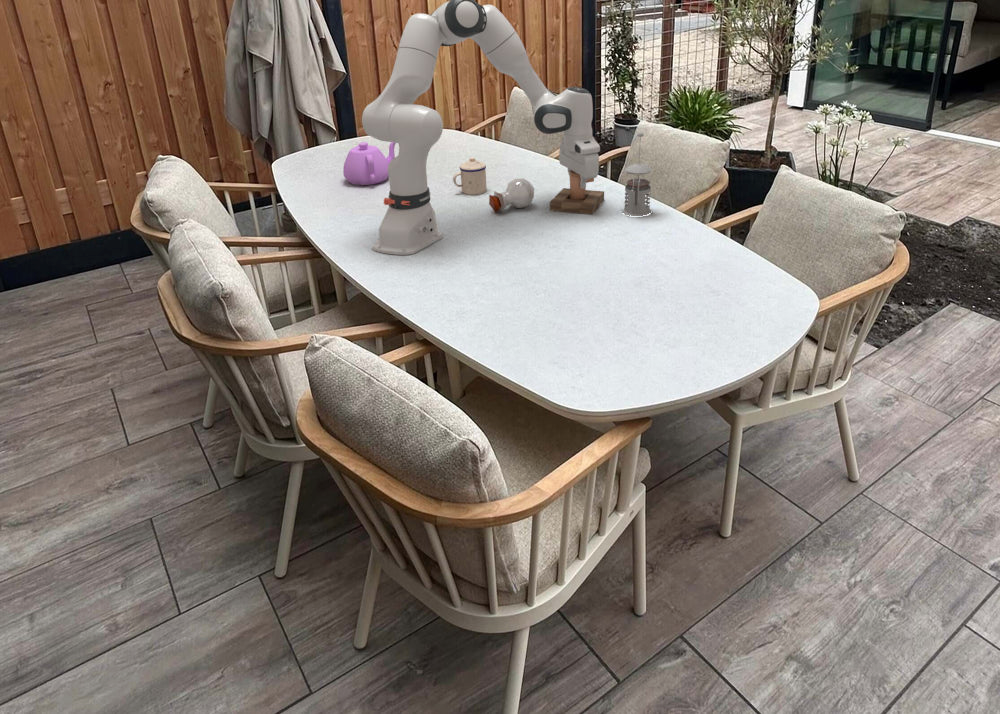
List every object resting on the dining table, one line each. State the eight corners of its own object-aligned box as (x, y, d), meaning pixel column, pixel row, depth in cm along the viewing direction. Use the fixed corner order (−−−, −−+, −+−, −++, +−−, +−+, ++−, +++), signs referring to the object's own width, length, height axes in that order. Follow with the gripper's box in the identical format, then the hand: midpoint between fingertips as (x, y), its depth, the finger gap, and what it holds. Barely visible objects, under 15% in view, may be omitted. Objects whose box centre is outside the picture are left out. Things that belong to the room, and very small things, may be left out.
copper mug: (574, 203, 244) (574, 175, 239) (566, 198, 248) (566, 171, 244) (596, 198, 247) (597, 171, 242) (588, 194, 251) (588, 167, 246)
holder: (592, 214, 241) (592, 205, 239) (549, 210, 245) (549, 201, 244) (604, 200, 252) (604, 191, 250) (563, 196, 256) (563, 188, 255)
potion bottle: (536, 208, 252) (499, 223, 247) (521, 186, 255) (483, 200, 250) (543, 190, 244) (504, 206, 239) (527, 168, 247) (488, 183, 241)
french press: (654, 207, 244) (658, 128, 231) (650, 220, 234) (654, 138, 221) (623, 206, 246) (626, 127, 233) (618, 218, 236) (620, 137, 224)
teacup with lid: (481, 185, 271) (479, 152, 265) (491, 192, 264) (489, 159, 258) (449, 191, 267) (447, 158, 261) (459, 198, 260) (456, 164, 254)
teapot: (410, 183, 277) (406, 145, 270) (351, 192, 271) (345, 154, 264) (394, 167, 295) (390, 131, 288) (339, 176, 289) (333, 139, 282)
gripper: (554, 135, 245) (554, 178, 252) (584, 150, 229) (584, 195, 236) (571, 133, 247) (571, 175, 254) (603, 147, 231) (601, 192, 238)
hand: (577, 185), depth 245 cm, fingers closed on copper mug, 5 cm apart
